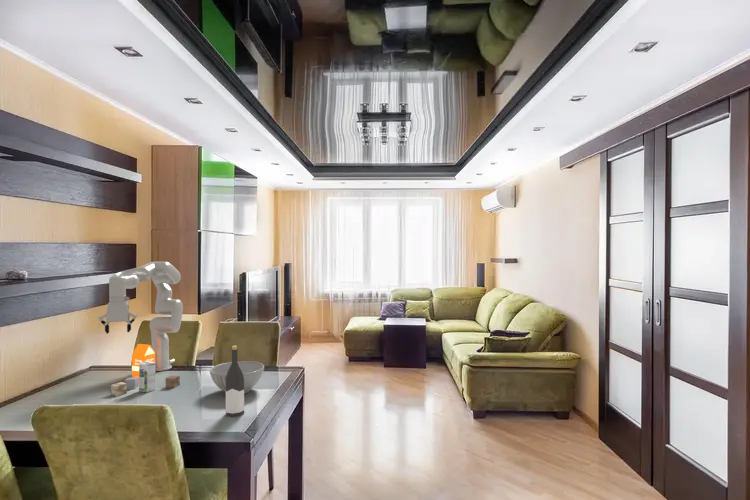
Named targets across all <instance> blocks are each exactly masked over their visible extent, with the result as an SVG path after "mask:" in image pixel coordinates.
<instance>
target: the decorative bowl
mask: <svg viewBox="0 0 750 500" xmlns="http://www.w3.org/2000/svg"><path fill="white" fill-rule="evenodd" d="M237 363H238V365H239V367H240V369H241V371H242V373H243V377H244V395H245V394H247V393H249V392H250V390H251V389H252V388H254V387H255V386H256V385H257V383H258V382H259V381H260V379H261V378H262V376H263V373H264V371H265V365H264V364H263V363H261V362H259V361H251V360H250V361H249V360H241V361H240V360H239V361H238V360H237ZM231 364H232V361H230V362H229V361H228V362H224V363H220V364H217V365H214V366H212V367H211V368H210V369H209V374H210V377H211V379H212V382H213V383H214V385H216V387H217V388H218V389H220V390H222V391H223V392H224V394H226V375H227V372H228V370H229V368H230V366H231Z"/></svg>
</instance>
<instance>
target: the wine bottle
mask: <svg viewBox="0 0 750 500" xmlns="http://www.w3.org/2000/svg"><path fill="white" fill-rule="evenodd" d="M231 347H232V348H231V362H232V364H231V366H230V368H229V370H228V372H227V375H226V393H225V416H226V417H231V418H235V417H240V416H242V415H244V414H245V394H244V377H243V373H242V371H241V369H240V367H239V365H238V363H237V361H238V345H232V346H231Z"/></svg>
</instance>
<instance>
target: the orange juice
mask: <svg viewBox="0 0 750 500" xmlns="http://www.w3.org/2000/svg"><path fill="white" fill-rule="evenodd" d="M145 361H150V362H155V352H154V351H153V349H152V345H150V344H144V343H142V344H141V343H137V345H136V347H135V349H134V351H133V352H132V355H131V377H139V363H141V362H145Z"/></svg>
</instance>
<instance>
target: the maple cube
mask: <svg viewBox="0 0 750 500" xmlns="http://www.w3.org/2000/svg"><path fill="white" fill-rule="evenodd" d="M110 389H111V391H110V393H111V394H110V395H112V396H116V397H118V396H122V395H125V394H128V392H127V390H128V389H127V384H126V383H125V382H122V381H120V382H117V383H112V384H111V386H110Z"/></svg>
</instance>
